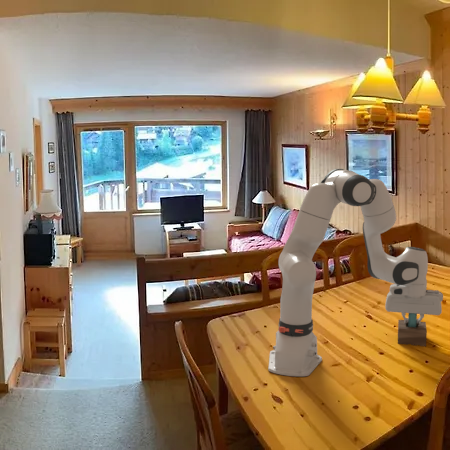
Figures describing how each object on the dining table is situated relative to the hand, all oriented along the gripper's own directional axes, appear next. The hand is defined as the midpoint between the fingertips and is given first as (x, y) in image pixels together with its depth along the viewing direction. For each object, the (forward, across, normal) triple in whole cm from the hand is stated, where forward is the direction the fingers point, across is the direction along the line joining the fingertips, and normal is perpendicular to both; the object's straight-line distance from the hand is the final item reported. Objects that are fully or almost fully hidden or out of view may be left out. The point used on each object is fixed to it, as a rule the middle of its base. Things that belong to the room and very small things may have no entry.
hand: (412, 323), depth 204 cm
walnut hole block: (+7, 0, 0) cm, 7 cm away
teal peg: (+5, 0, 0) cm, 5 cm away
